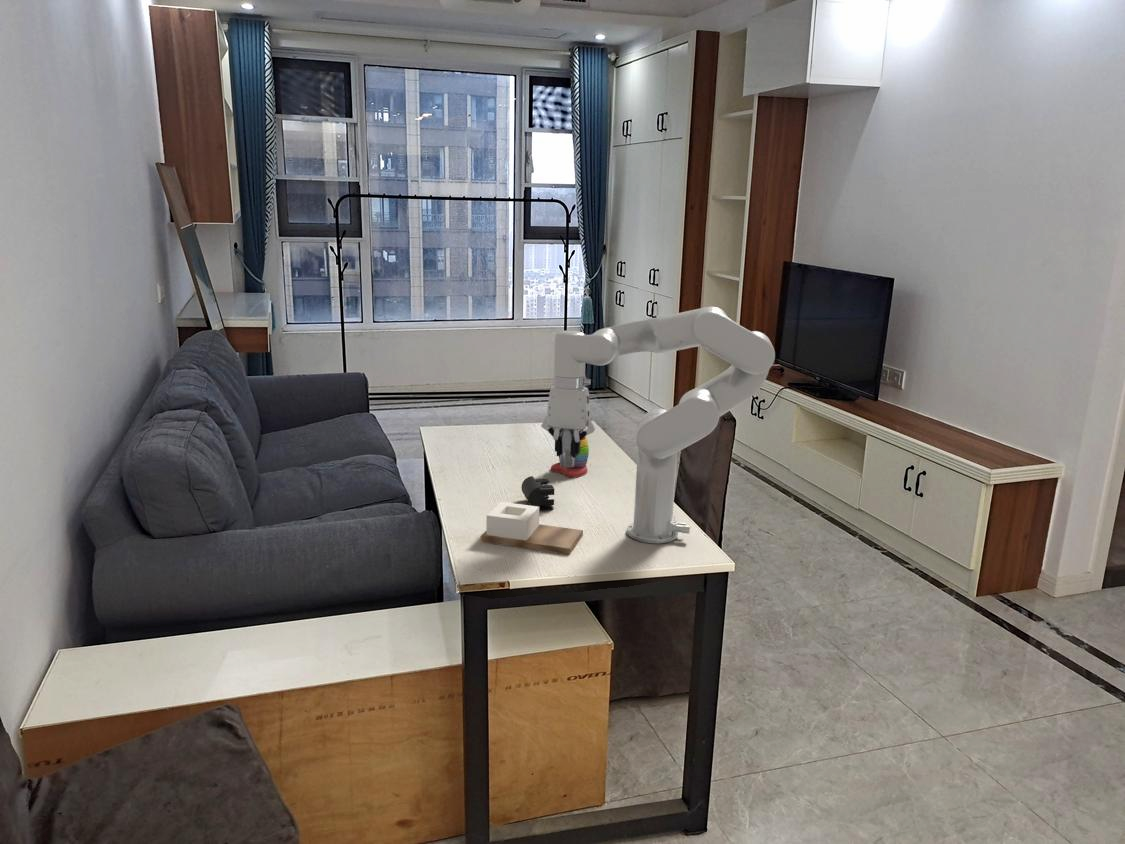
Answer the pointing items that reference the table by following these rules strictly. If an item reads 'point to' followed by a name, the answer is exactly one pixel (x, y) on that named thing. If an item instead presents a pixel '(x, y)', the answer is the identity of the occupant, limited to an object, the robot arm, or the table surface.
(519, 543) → the board
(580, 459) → the stacking bear
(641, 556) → the table surface
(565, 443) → the peg
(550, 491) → the end cap
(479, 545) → the table surface
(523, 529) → the socket
